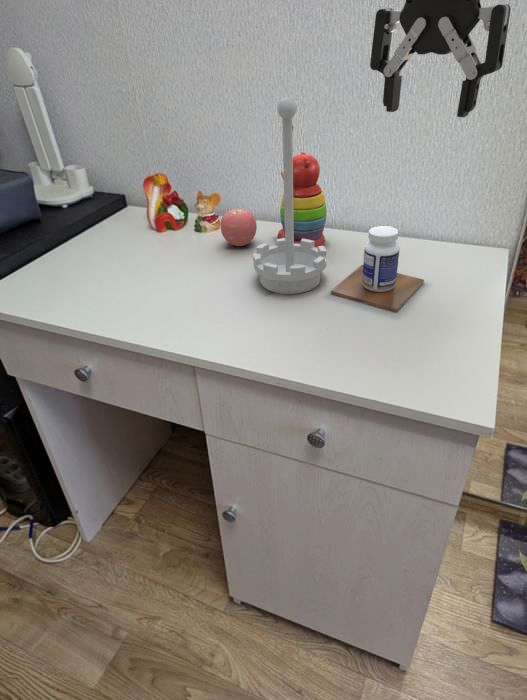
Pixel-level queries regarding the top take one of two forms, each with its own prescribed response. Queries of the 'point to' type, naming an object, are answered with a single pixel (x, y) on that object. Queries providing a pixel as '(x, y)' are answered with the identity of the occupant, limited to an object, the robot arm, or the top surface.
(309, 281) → the grey countertop holder stand
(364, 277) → the pill bottle
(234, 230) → the apple
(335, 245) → the top surface
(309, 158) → the stacking bear
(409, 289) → the coaster
